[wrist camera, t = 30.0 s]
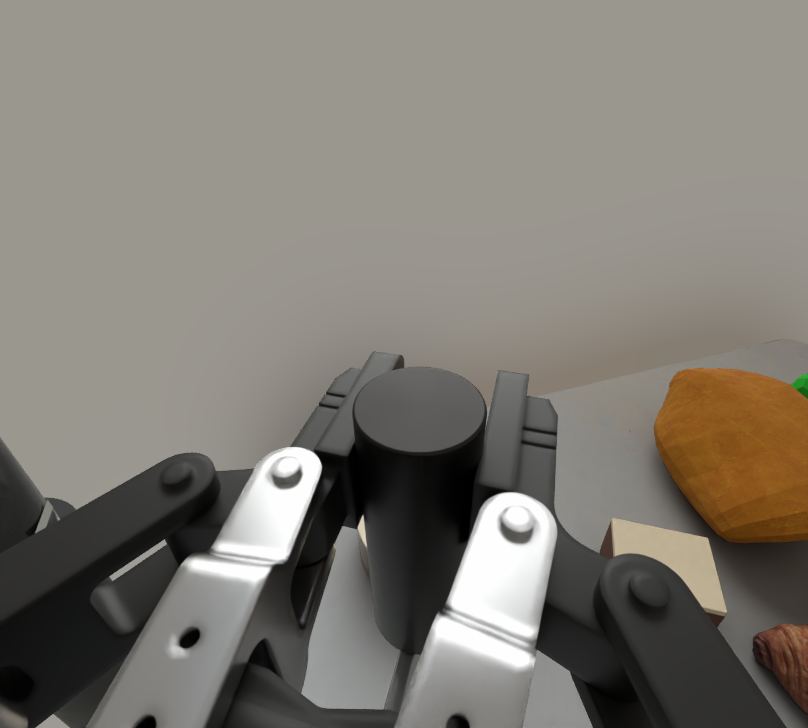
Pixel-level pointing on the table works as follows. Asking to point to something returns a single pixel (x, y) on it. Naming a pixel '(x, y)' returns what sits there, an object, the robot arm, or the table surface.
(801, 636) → the pastry
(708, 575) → the cake slice
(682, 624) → the robot arm
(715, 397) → the bread
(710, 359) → the table surface
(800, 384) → the polyhedron
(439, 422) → the knife
